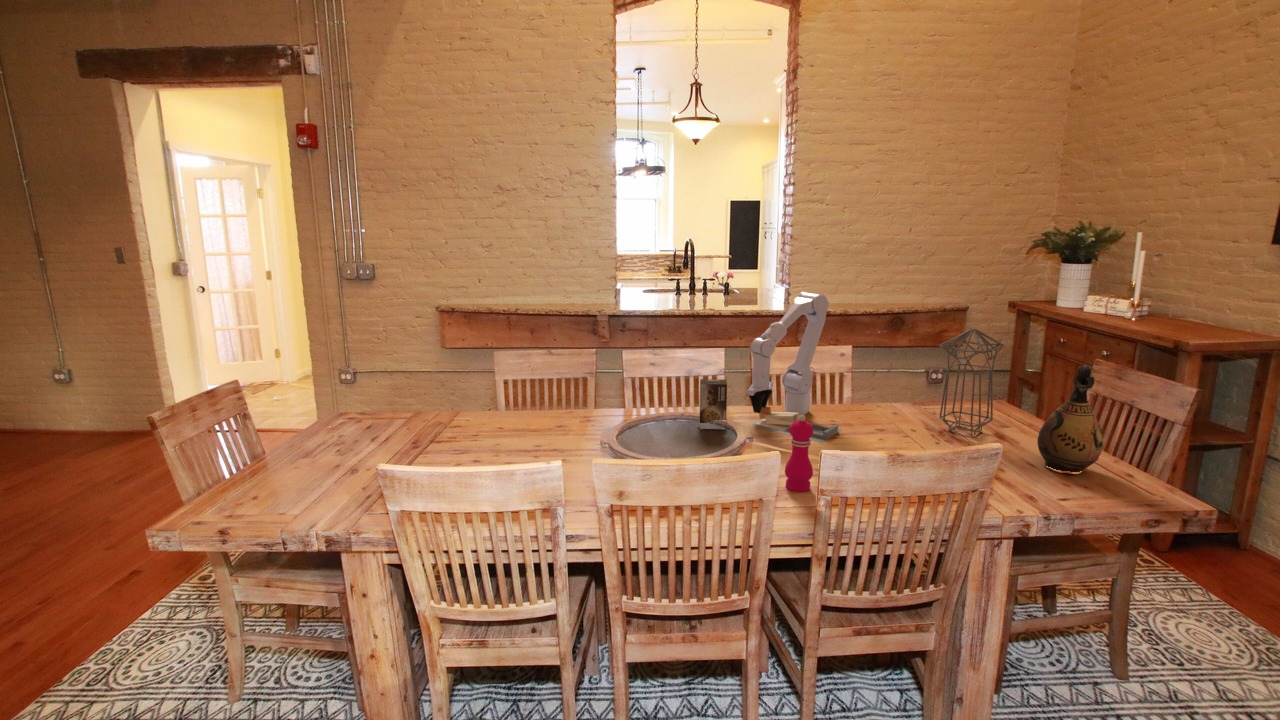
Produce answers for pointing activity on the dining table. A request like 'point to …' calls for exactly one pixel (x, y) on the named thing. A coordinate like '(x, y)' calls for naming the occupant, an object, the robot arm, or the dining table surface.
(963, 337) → the geometric lantern
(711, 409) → the cookie box
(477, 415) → the dining table surface
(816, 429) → the lane board
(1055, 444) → the ceramic jug
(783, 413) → the birch block
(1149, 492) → the dining table surface
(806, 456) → the pepper mill
